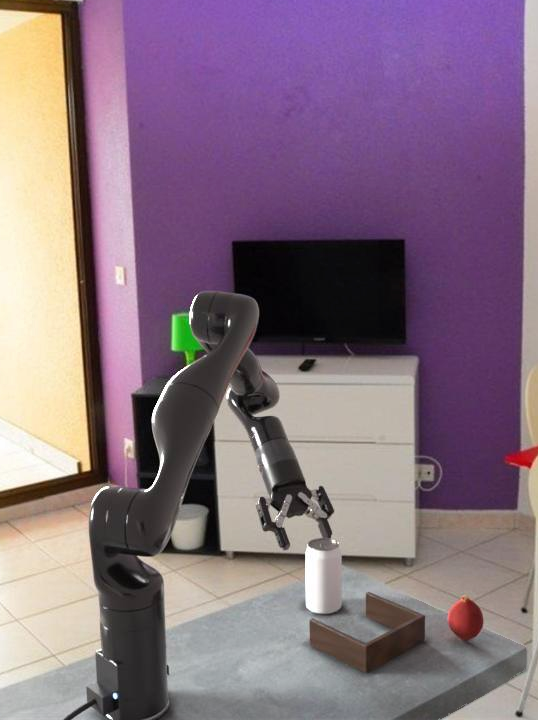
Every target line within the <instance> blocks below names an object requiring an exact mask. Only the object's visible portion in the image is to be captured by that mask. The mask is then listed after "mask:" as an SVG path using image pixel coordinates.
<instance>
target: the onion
mask: <svg viewBox="0 0 538 720" xmlns="http://www.w3.org/2000/svg"><path fill="white" fill-rule="evenodd" d="M446 619H447V625H448V627H449V629H450V631H451V632H452V633H453V634H454V635H455V636H456V637H457V638H459V639H460V640H461V641H462V642H468V641H470V640H472V639H474V638H476V637H477V636H478V635H479V634H480V633H481V631H482V629H483V627H484V623H485V622H484V615H483V612H482V609H481V608H480V606H479V605H478V604H477V603H476V602H475V601H473V600H472V599H471V598H469V596H468V595H462V596H461V597H460V599H459V600H458V601H456V602H455V603H454V604H452V606H451V608H450V609H449V610H448V614H447V617H446Z"/></svg>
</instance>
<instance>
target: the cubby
mask: <svg viewBox="0 0 538 720" xmlns="http://www.w3.org/2000/svg"><path fill="white" fill-rule="evenodd" d="M365 617H366V618H368V619H370V620H372V621H374V622H376V623H379V624H381V625H383V626H386V627H387V628H390V630H388V631H385V632H384V633H383V634H380V635H379V636H376V637H375V638H373V639H371V640H369V641H367V642H364V641H362V640H360V639H358V638H357V637H353V636H352V635H350V634H347V633H345V632H343V631H341V630H339V629H338V628H335V627H334V626H330V625H328V624H326V623H324V622H322V621H321V620H318V619H316V618H314V617H312V618H310V619H309V645H310V646H311V647H314V648H315V649H318V650H320V651H321V652H323V653H324V654H327V655H329V656H331V657H333V658H334V659H337V660H339V661H341V662H343V663H345V664H347V665H349V666H351V667H353V668H354V669H357V670H358V671H361V672H362V673H364V674H368V673H369V672H371V671H373V670H376V669H377V668H379V667H380V666H382V665H384V664H386V663H387V662H389V661H391V660H393V659H394V658H397V657H398V656H399V655H401V654H403V653H405V652H407V651H408V650H410V649H413V648H414V647H416V646H417V645H419V644H421V643H423V642H425V641H426V615H425V614H423V613H420V612H418V611H416V610H414V609H411V608H409V607H406V606H405V605H401V604H399V603H397V602H394V601H391V600H390V599H387V598H384V597H382V596H380V595H378V594H376V593H372V592H371V591H367V592H365Z"/></svg>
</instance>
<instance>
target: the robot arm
mask: <svg viewBox="0 0 538 720" xmlns="http://www.w3.org/2000/svg"><path fill="white" fill-rule="evenodd" d="M259 319H260V307H259V304H258V302H257V301H256V299H255V298H254V297H252V296H250V295H246V294H242V293H234V292H226V291H220V290H211V289H210V290H203V291H200V292H199V293H197V295H196V296H195V297H194V299H193V301H192V304H191V306H190V311H189V326H190V327H189V328H190V331H191V333H192V336H193V337H194V339H195V340H196V342H197V343H198V344H199V345H200V346H201V347H202V348H203V349H204V350H205V351H206V354H205V355H203V356H201V357H200V358H197V360H195V361H193V362H191V363H190V364H189V365H187V366H185V367H184V368H183V369H181V370H180V371H178V372H177V373H176V374H175V375H173V376H172V377H171V378H170V380H168V382H167V383H166V385H165V387H164V389H163V390H162V392H161V394H160V396H159V398H158V400H157V403H156V405H155V407H154V409H153V411H152V416H151V429H152V434H153V439H154V442H155V446H156V449H157V453H158V457H159V469H158V473H157V476H156V477H155V480H154V482H153V484H152V485H151V486H150V487H149V488H141V487H130V486H118V485H108V486H105V487H103V488H101V489H100V490H99V491H98V492H97V493H96V494H95V496H94V498H93V500H92V502H91V505H90V509H89V514H88V515H89V516H88V540H89V541H88V542H89V548H90V558H91V566H92V578H93V583H94V587H95V589H96V591H97V593H98V595H97V596H98V614H99V615H98V616H99V633H100V635H99V637H100V649H98V650H96V651H95V656H94V657H95V673H96V681H94V682H92V683H90V684H87V685H86V687H85V688H86V702H85V703H84V704H82V705H80V706H79V707H77V708H76V709H74V710H73V711H72V712H70V713H69V714H68V715H66V716H65V717H64V718H63V719H62V720H73V719H74V718H76V717H78V716H79V715H80V714H82V713H84V712H85V711H86V710H88V709H89V708H93V709H94V710H95V711H96V712H98V713H99V714H100V715H101V716H103V717H104V718H106V720H158V719H159V718H161V717H162V716H164V715H165V713H167V711H168V709H169V707H170V697H169V685H168V682H169V681H168V676H170V666H169V664H168V659H167V657H168V655H167V634H166V633H167V632H166V604H165V582H164V578H163V577H164V576H163V575H162V573H160V571H158V569H156V568H155V567H153V566H151V565H149V564H148V563H146V562H144V561H143V560H142V559H141V558H139V557H143V558H152V557H156V556H158V555H159V554H161V553H162V552H163V550H164V549H165V548H166V546H167V544H168V542H169V541H170V539H171V536H172V534H173V531H174V529H175V526H176V522H177V519H178V518H179V514H180V510H181V507H182V504H183V501H184V498H185V494H186V492H187V488H188V485H189V482H190V479H191V476H192V474H193V472H194V469H195V466H196V463H197V461H198V458H199V456H200V454H201V452H202V450H203V447H204V444H205V443H206V440H207V438H208V436H209V435H210V432H211V429H212V427H213V425H214V422H215V421H216V419H217V415H218V413H219V411H220V408H221V406H222V402H223V400H224V397H225V396H226V397H225V399H226V404H227V406H228V408H229V410H230V411H231V412H232V414H233V415H234V417H235V418H236V419H237V420H238V421H239V423H240V424H241V425H242V427H243V429H244V430H245V432H246V434H247V436H248V439H249V441H250V443H251V447H252V449H253V451H254V455H255V458H256V464H257V466H258V471H259V473H260V475H261V478H262V480H263V484H264V486H265V489H266V492H267V494H268V496H269V497H268V498H265V497H264V496H260V497H259V498H258V500H257V501H256V503H255V508H256V512H257V515H258V518H259V522H260V526H261V529H262V531H263V532H266V533H267V532H271V533H273V534H274V536H275V539H276V542H277V544H278V547H279V548H280V549H282V550H283V551H288V550H289V549H290V547H291V542H290V540H289V539H290V538H289V536H288V535H287V532H286V529H285V527H283V524H284V521H285V519H286V518H287V519H292V518H294V517H301V516H303V515H304V516H306V517H307V518H309V519H312V520H314V521H315V522H316V523H317V527H318V529H319V532H320V535H321V538H330V539H332V535H333V530H332V528H331V525H330V523H329V519H330V518H331V517H332V515H334V513H335V508H334V507H333V504H332V503H331V500H330V498H329V496H328V493H327V491H326V489H325V487H324V486H323V485H319V486H318V487H317V488H315V489H310V488H309V487H308V486H307V482H306V478H305V476H304V474H303V471H302V468H301V466H300V463H299V461H298V457H297V455H296V452H295V450H294V448H293V447H292V445H291V443H290V441H289V438H288V436H287V432H286V431H285V427H284V425H283V422H282V421H281V419H280V418H279V417H278V416H275V415H265V416H255V415H258V414H260V413H264V412H265V411H268V410H271V409H273V408H275V407H276V406H277V404H278V403H279V401H280V396H281V394H280V390H279V387H278V385H277V383H276V382H275V380H274V378H272V377H271V376H270V375H269V374H268V373H267V372H265V371H264V370H262V366H261V364H260V361H259V359H258V357H257V356H256V354H255V353H254V351H253V350H251V348H249V347H250V345H251V343H252V341H253V339H254V336H255V335H256V332H257V328H258V325H259ZM228 387H229V389H228ZM226 392H227V393H226ZM312 498H313V499H314V501H313V500H312ZM316 502H317V503H316ZM271 507H272V508H273V509H274V510H275V511H276V512H277V513H276V516H275V519H274V521H273V520H272V517H271V513H270V510H269V509H270V508H271Z"/></svg>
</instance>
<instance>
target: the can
mask: <svg viewBox="0 0 538 720" xmlns="http://www.w3.org/2000/svg"><path fill="white" fill-rule="evenodd" d="M342 555H343V554H342V549H341V547H340V542H339V540H336V539H334V538H322V537H318V538H317V537H316V538H314V539H311V540H309V541H308V542H307V547H306V550H305V606H306V609H308V611H309V612H311V613H313V614H317V615H332V614H335V613H337V612H338V611H340V609H341V608H342V606H343V558H342V557H343V556H342Z"/></svg>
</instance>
